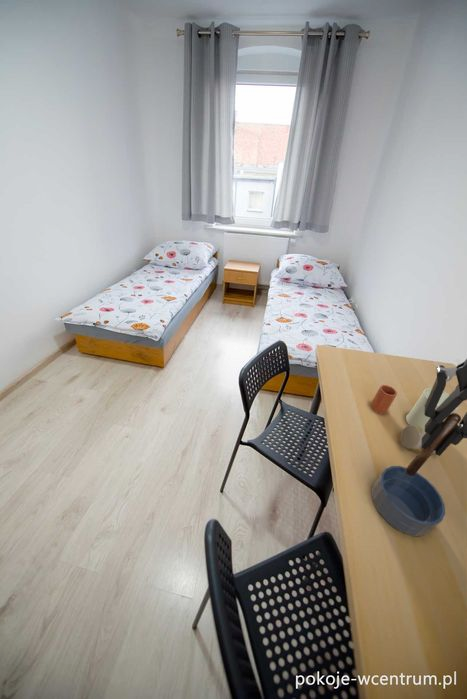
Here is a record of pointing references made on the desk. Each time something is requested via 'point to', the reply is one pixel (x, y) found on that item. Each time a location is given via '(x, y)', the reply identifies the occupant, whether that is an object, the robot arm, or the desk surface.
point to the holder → (383, 399)
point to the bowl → (408, 501)
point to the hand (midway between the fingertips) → (430, 446)
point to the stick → (433, 444)
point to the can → (423, 409)
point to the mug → (412, 438)
